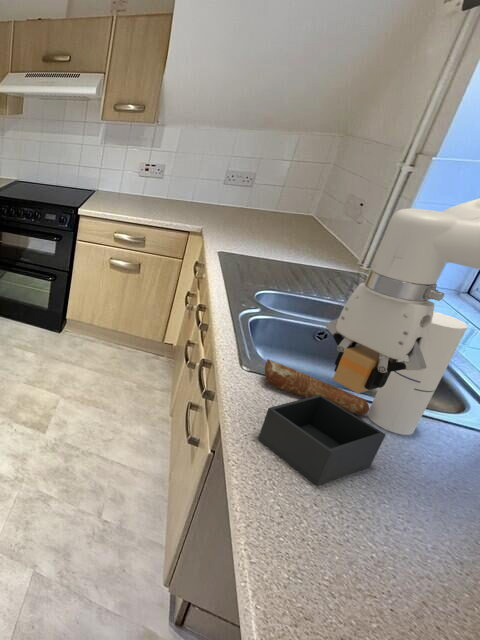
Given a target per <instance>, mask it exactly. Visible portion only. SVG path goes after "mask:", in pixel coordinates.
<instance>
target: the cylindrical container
mask: <svg viewBox="0 0 480 640" xmlns="http://www.w3.org/2000/svg"><path fill="white" fill-rule="evenodd" d="M468 327H469V326H468V323H466V322H464V321H462V320H460V319H458V318H456V317H453V316H451V315H448V314H444V313H441V312H438V311H437V312H436V311H434V312H433V318H432V322H431V326H430V329H429V332H428V335H427V338H426V341H425V343H424V346H423V348H422V350H421V352H422V355H423V358H424V361H425V363H426V368H425V369H422V370H398V371H391V373H390V375H389V377H388V379H387V381H386V383H385V385H384V386H383V387H381V388H377V391H376V394H375V396H374V398H373V401H372V403H371V404H370V407H369V410H368V412H367V417H368V418H369V420H370V421H371V422H372V423H374V424H376V425H377V426H379V427H380V428H382V429H384V430H386V431H388V432H391V433H394V434H398V435H404V436H410V435H413V434H414V433H415V430H416V429H417V427H418V426H419V425H418V424H419V423H420V421H421V419H422V417H423V415H424V414H425V411H426V409H427V407H428V405H429V403H430V401H431V399H432V397H433V395H434V394H435V392H436V390H437V388H438V386H439V384H440V383H441V380H442V378H443V376H444V374H445V372H446V370H447V368H448V366H449V364H450V363H451V360H452V358H453V356H454V355H455V353H456V350H457V349H458V347H459V345H460V343H461V341H462V339H463V337H464V335H465V334H466V331H467V330H468ZM400 361H409V358H408V355H406V356H405V357H404V358H403V359H399V360H398V362H400Z"/></svg>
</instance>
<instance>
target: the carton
mask: <svg viewBox="0 0 480 640" xmlns="http://www.w3.org/2000/svg"><path fill="white" fill-rule="evenodd" d="M379 355H380V353H378V352H376V351H374V350H372V349H370V348H368V347H366V346H363V345H361V344H360V345H358V346H357V347H352V348H347V349H345V351H344V353H343V356H342V358H341V360H340V362H339V365H338V368H337V370H336V372H335V373H334V375H333V378H332V380H333V381H335V382H337V383H338V384H340V385H341V386H343V387H346V388H347V389H349V390H350V391H352V392H354V393H356V394H362V393H364V392H365V393H366V392H369V391H370V390H368V389H366V388H365V384H366V382H367V380H368V378H369V376H370V374H371V371H372V370H373V369H375V368H377V366H378V361H379ZM373 390H374V389H372V390H371V391H373Z"/></svg>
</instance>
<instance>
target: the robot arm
mask: <svg viewBox="0 0 480 640" xmlns="http://www.w3.org/2000/svg"><path fill="white" fill-rule="evenodd" d="M446 264H455V265H460V266H463V267H467V268H471V269H476V270H480V197H479V198H476V199H472V200H469V201H466V202H463V203H459V204H456V205H453V206H451V207H448V208H446V209H444V210H442V211H438V210H432V209H426V208H413V207H410V208H401V209H399V210H397V211H396V212H394V213H393V214H392V216H391V218H390V220H389V223H388V224H387V228H386V230H385V232H384V235H383V238H382V240H381V243H380V245H379V247H378V250H377V252H376V255H375V257H374V259H373V262H372V265H371V268H370V269H369V272H368V273H367V276H366V279H365V281H364V282H361V283H359V284H358V286H357V287H356V288H355V289H354V291H353V292H352V294H351V295H350V296H349V298H348V299H347V301H346V303H345V304H344V306H343V308H342V310H341V312H340V314H339V317H337V318H334V319H333V320H331V321H329V322H327V323H326V324H325V328H326V329H327V331H328V332H329V333H330V334H331V335H332V336H333V340H334V341H335V344H336V345H337V347H336V349H337V351H338V355H337V357H336V359H335V362H334V365H335V367H334V372H335V373H336V370H337V368H338V365H339V362H340V360H341V358H342V356H343V353H344V351H345V349H347V348H352V347H357V346H359V345H360V346H361V345H363V346H366V347H368V348H370V349H372V350H374V351H376V352H378V353H380V355H379V361H378V366H377V368H375V369H373V370H372V371H371V374H370V376H369V378H368V380H367V382H366V384H365V388H366V389H368V390H369V391H373V390H376V389H379V388H381V387H383V386H384V385H385V383H386V381H387V379H388V377H389V375H390V373H391V371H398V370H422V369H425V368H426V363H425V361H424V358H423V355H422V352H421V350H422V348H423V346H424V343H425V341H426V338H427V335H428V332H429V329H430V326H431V322H432V318H433V312H435V302H433V301H431V300H435V301H438V302H440V301H442V300H443V298H444V297H445V292H443V291H439V290H438V289H437V286H438V284H437V282H438V280H439V278H440V276H441V274H442V272H443V270H444V267H445V265H446ZM406 355H408V358H409V361H400V362H398V360H399V359H403V358H404V357H405V356H406ZM372 389H373V390H372Z"/></svg>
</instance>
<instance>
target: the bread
mask: <svg viewBox="0 0 480 640" xmlns="http://www.w3.org/2000/svg"><path fill="white" fill-rule="evenodd" d="M264 376H265V380H264V381H265V383H266V384H268V385H270V386H271V387H274V388H276V389H279V390H281V391H285V392H287V393H291V394H294V395H297V396H300V397H303V398H308V397H312V396H316V395H322V396H323V397H325V398H327V399H328V400H330V401H332V402H333V403H335V404H337V405H338V406H340V407H342V408H343V409H345V410H347V411H348V412H350V413H352V414H356V415H366V414H368V411H369V409H370V407H369V406H370V405H369V402H368V401H367V400H366V399H365V398H363V397H361V396H357V395H355V394H353V393H350V392H348V391H346V390H344V389H342V388H339V387H337V386H334V385H331V384H329V383H328V382H325V381H322V380H320V379H318V378H316V377H314V376H311V375H309V374H306V373H304V372H301V371H299V370H297V369H294V368H292V367H289V366H286V365H285V364H281V363H279V362H276V361H273V360H271V359H268V358H267V359H266V362H265V365H264Z"/></svg>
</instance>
